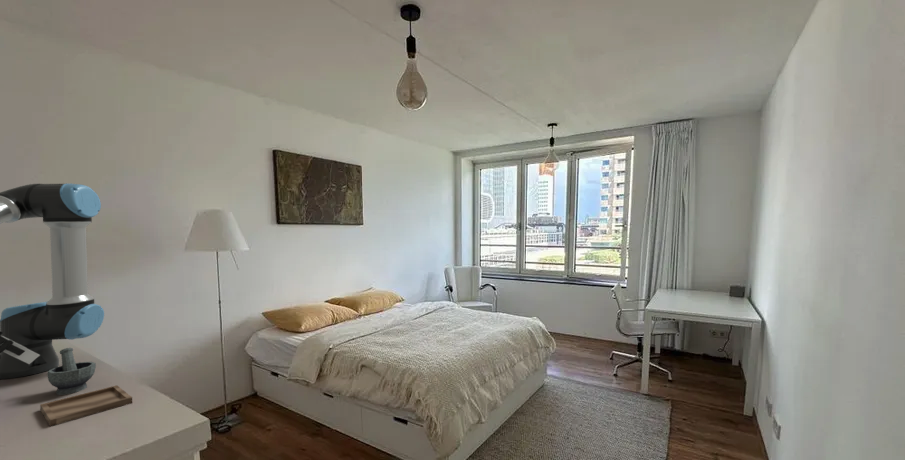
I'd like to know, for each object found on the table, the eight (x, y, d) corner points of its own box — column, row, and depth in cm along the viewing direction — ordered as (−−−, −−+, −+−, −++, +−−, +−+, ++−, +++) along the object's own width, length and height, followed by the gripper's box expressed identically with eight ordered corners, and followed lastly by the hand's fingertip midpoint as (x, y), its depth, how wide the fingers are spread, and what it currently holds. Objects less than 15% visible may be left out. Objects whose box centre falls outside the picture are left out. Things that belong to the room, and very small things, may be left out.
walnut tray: (40, 410, 94) (40, 404, 94) (116, 390, 106) (116, 385, 106) (50, 426, 86) (50, 420, 86) (132, 402, 98) (132, 397, 98)
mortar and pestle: (99, 387, 109) (100, 347, 109) (55, 399, 100) (56, 356, 101) (85, 381, 114) (85, 343, 114) (41, 392, 106) (42, 351, 106)
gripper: (-90, 318, 91) (2, 361, 104) (-79, 329, 79) (24, 376, 91) (-54, 294, 96) (30, 338, 108) (-38, 301, 83) (55, 349, 96)
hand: (27, 355), depth 100 cm, fingers open, 13 cm apart
